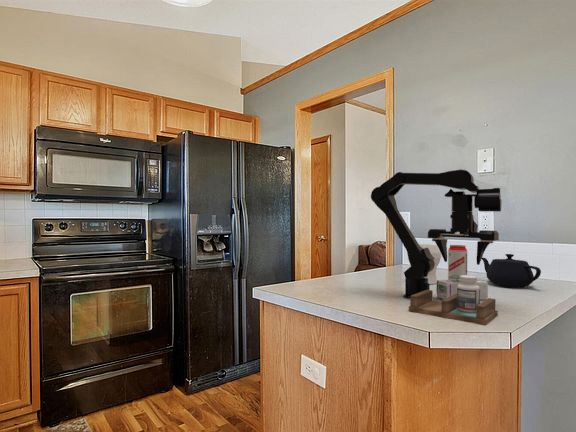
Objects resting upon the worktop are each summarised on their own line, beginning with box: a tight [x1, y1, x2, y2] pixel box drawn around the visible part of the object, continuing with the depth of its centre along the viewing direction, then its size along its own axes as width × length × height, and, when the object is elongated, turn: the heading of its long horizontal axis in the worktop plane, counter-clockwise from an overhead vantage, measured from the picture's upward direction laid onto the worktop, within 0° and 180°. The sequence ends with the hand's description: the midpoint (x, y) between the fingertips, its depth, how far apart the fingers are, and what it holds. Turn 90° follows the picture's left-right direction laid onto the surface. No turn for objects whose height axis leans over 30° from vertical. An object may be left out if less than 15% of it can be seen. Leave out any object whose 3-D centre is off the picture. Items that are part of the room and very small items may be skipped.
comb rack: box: [408, 289, 498, 326], centre depth 96 cm, size 19×12×4 cm, turn 48°
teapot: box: [481, 253, 542, 289], centre depth 140 cm, size 25×16×12 cm, turn 21°
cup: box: [418, 243, 442, 285], centre depth 144 cm, size 11×11×15 cm
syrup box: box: [435, 279, 489, 301], centre depth 114 cm, size 6×6×14 cm
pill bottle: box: [457, 274, 481, 313], centre depth 94 cm, size 5×5×9 cm
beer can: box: [447, 244, 468, 280], centre depth 128 cm, size 6×6×16 cm
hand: (461, 263), depth 109 cm, fingers open, 9 cm apart
